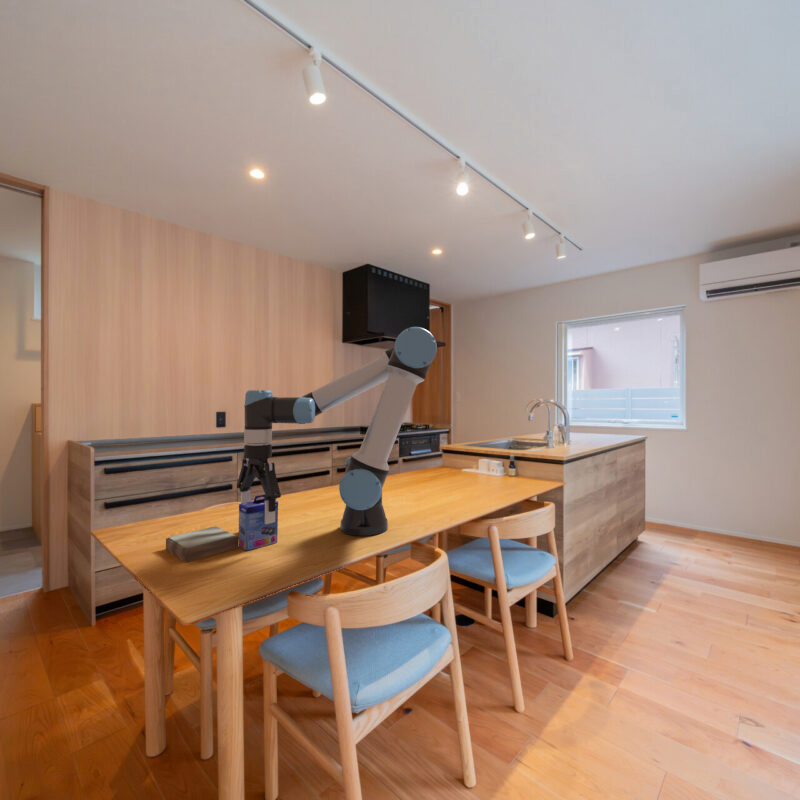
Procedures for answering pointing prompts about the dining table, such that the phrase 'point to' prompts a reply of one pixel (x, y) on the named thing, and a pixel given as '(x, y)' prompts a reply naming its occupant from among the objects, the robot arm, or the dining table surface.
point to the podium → (201, 543)
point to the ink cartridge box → (256, 525)
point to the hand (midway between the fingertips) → (257, 518)
